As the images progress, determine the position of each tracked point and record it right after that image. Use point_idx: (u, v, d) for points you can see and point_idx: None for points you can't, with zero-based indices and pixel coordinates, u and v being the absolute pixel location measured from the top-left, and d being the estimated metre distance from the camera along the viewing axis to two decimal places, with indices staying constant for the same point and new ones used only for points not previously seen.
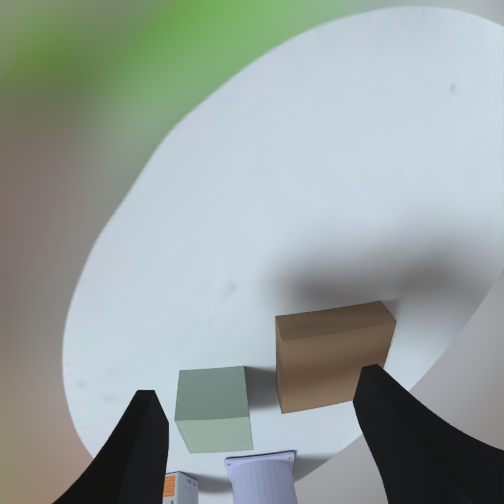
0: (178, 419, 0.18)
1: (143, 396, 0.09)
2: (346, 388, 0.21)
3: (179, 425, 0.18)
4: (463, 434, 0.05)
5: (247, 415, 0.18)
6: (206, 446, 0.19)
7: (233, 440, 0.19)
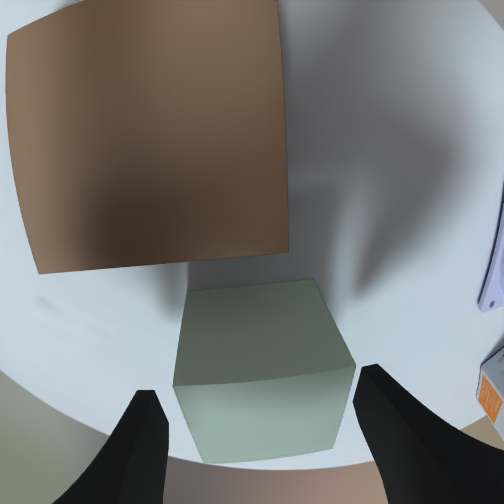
0: None
1: (143, 396, 0.09)
2: (204, 68, 0.06)
3: (219, 461, 0.09)
4: (463, 434, 0.05)
5: (174, 385, 0.08)
6: (307, 436, 0.09)
7: (287, 405, 0.08)
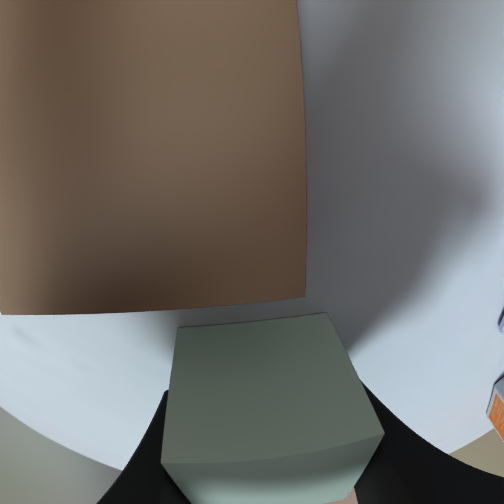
0: None
1: None
2: (191, 48, 0.04)
3: None
4: (434, 448, 0.05)
5: (162, 460, 0.05)
6: (319, 493, 0.07)
7: (299, 474, 0.06)
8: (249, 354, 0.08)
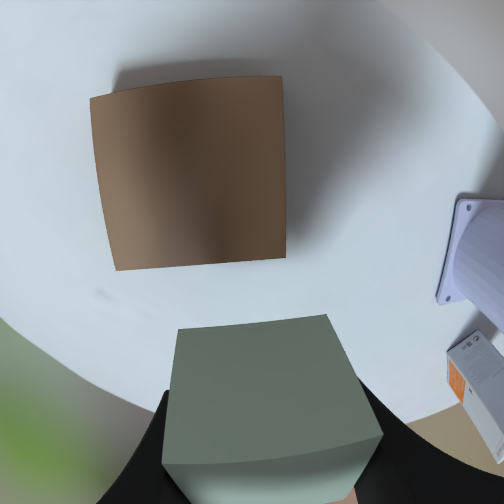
0: None
1: None
2: (237, 145, 0.12)
3: None
4: (434, 448, 0.05)
5: (163, 461, 0.05)
6: (319, 493, 0.07)
7: (299, 475, 0.06)
8: (249, 356, 0.08)
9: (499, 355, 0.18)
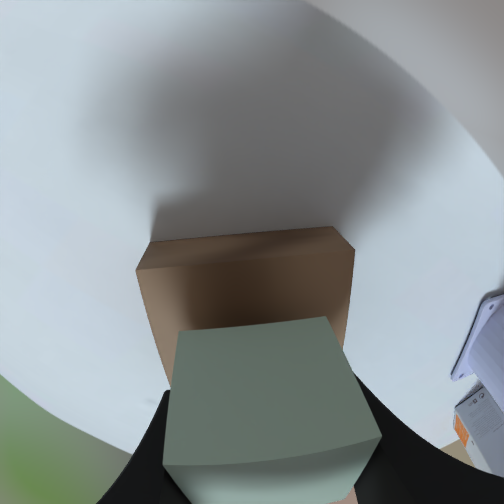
0: None
1: None
2: None
3: None
4: (434, 448, 0.05)
5: (164, 462, 0.05)
6: (318, 494, 0.07)
7: (299, 476, 0.06)
8: (249, 357, 0.09)
9: (500, 412, 0.18)
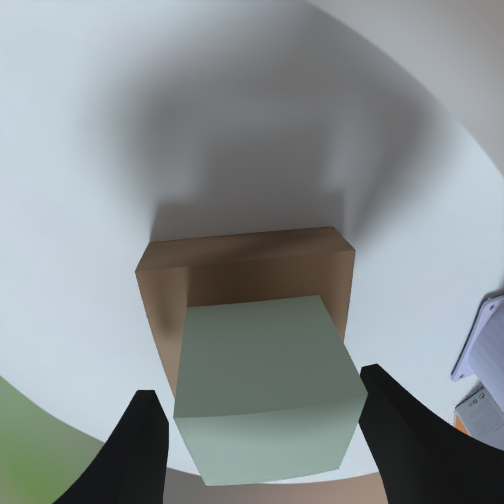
0: None
1: (143, 396, 0.09)
2: None
3: (222, 483, 0.09)
4: (463, 434, 0.05)
5: (174, 416, 0.07)
6: (314, 459, 0.08)
7: (294, 433, 0.07)
8: (250, 328, 0.10)
9: (500, 412, 0.18)
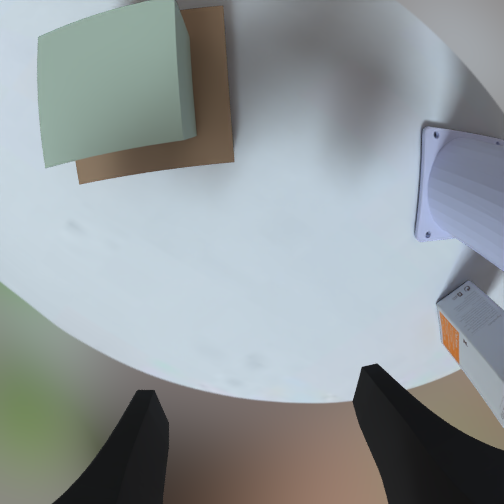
0: None
1: (143, 396, 0.09)
2: None
3: (58, 158, 0.08)
4: (463, 434, 0.05)
5: (39, 40, 0.06)
6: (142, 98, 0.08)
7: (116, 42, 0.07)
8: None
9: (493, 303, 0.18)
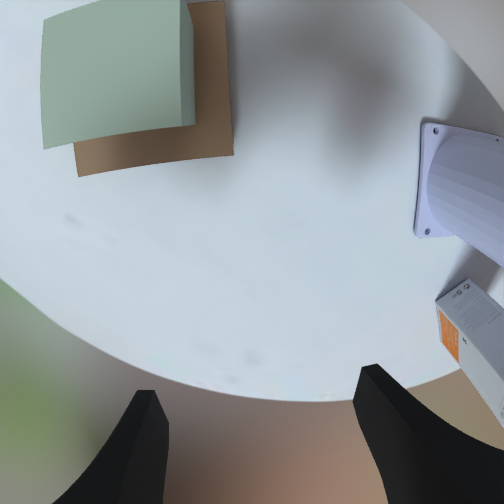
0: None
1: (143, 396, 0.09)
2: None
3: (57, 140, 0.08)
4: (463, 434, 0.05)
5: (45, 23, 0.06)
6: (143, 83, 0.08)
7: (120, 27, 0.07)
8: None
9: (493, 302, 0.18)
